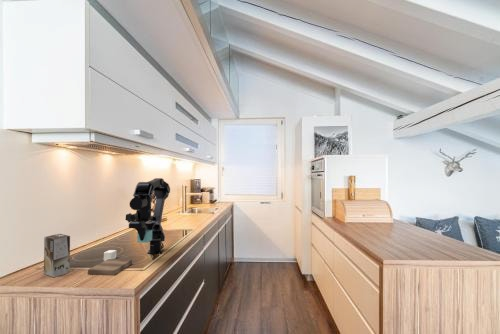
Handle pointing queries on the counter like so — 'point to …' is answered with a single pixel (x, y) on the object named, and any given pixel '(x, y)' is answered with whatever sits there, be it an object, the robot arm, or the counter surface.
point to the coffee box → (56, 255)
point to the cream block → (110, 254)
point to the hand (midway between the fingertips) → (144, 239)
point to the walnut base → (109, 267)
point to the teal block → (147, 237)
